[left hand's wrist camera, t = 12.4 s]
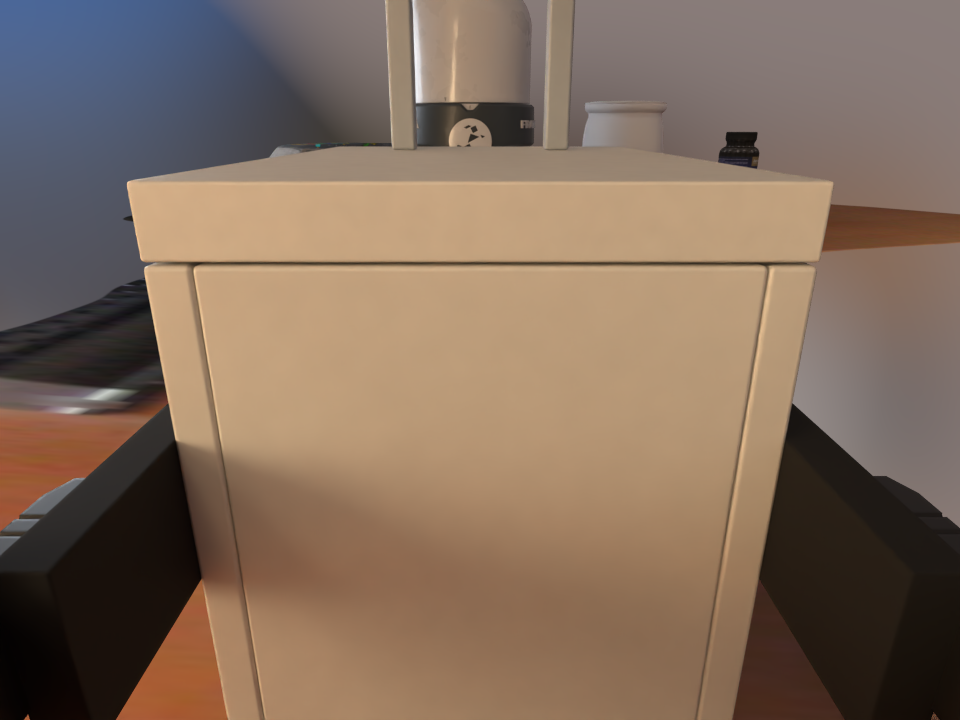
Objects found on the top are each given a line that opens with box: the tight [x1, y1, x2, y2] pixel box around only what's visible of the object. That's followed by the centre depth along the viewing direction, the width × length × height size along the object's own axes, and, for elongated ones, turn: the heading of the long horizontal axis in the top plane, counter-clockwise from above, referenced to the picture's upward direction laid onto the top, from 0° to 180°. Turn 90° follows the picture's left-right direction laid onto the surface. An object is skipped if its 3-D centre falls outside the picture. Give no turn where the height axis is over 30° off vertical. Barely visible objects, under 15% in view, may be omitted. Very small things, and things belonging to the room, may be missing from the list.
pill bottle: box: [718, 132, 759, 169], centre depth 104 cm, size 6×6×11 cm
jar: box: [582, 101, 667, 154], centre depth 86 cm, size 11×10×15 cm
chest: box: [144, 262, 817, 720], centre depth 17 cm, size 13×10×11 cm
